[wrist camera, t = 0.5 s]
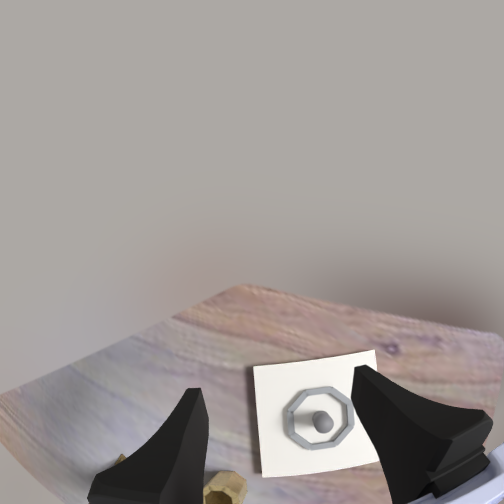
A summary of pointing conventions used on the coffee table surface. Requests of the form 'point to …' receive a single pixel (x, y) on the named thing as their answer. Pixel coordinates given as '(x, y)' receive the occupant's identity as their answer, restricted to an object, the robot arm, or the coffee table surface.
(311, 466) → the post board
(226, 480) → the collar
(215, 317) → the coffee table surface
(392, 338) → the coffee table surface
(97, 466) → the coffee table surface
